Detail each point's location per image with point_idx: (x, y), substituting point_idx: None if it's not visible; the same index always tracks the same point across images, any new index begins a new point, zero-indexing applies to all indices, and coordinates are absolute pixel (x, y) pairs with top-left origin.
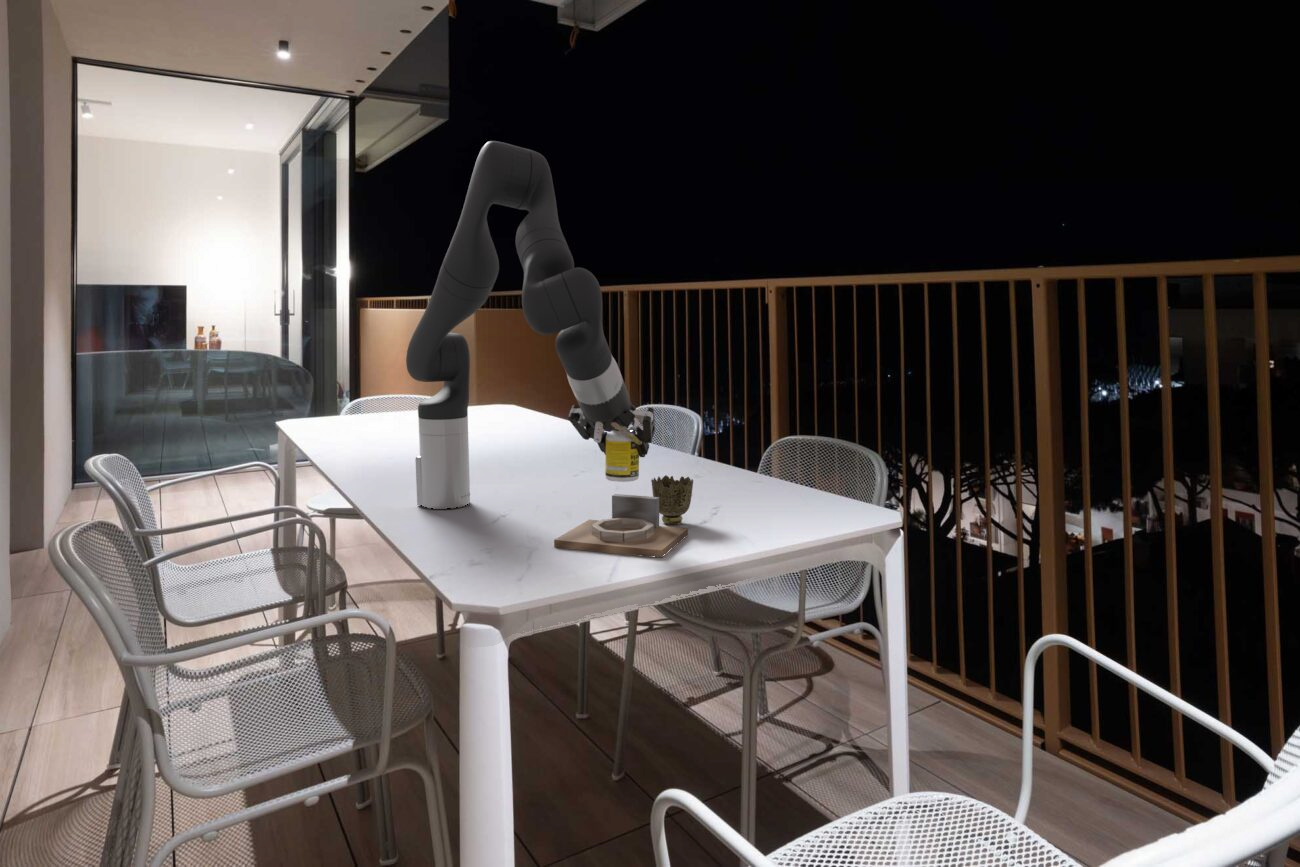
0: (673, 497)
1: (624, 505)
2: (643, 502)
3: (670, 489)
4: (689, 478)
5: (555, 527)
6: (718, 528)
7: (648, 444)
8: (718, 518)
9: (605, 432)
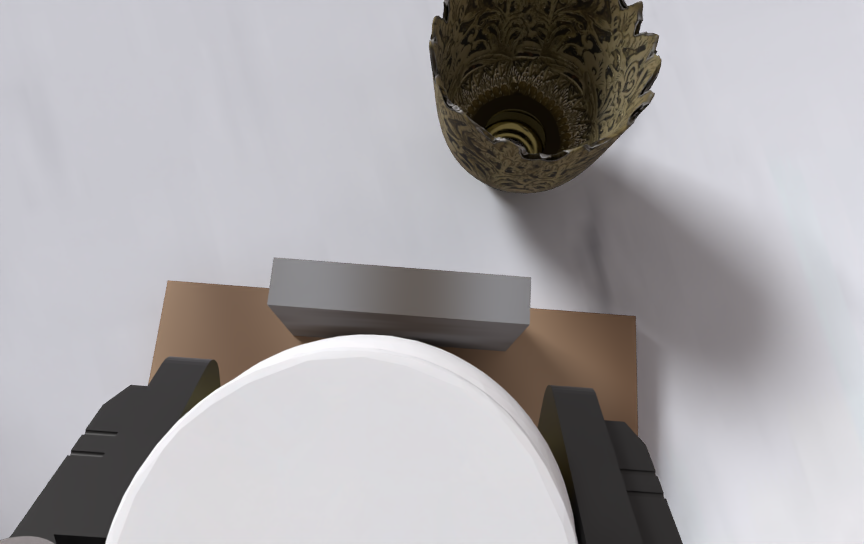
0: (565, 172)
1: (346, 320)
2: (452, 323)
3: (562, 162)
4: None
5: (29, 343)
6: (707, 186)
7: (653, 478)
8: (661, 44)
9: (94, 540)
